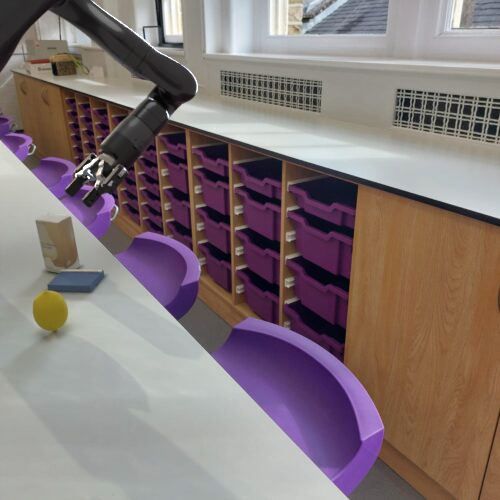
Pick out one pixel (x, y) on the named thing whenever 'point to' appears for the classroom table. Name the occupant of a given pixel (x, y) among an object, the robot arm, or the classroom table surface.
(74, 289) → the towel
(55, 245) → the cosmetic box
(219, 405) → the classroom table surface
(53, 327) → the lemon
